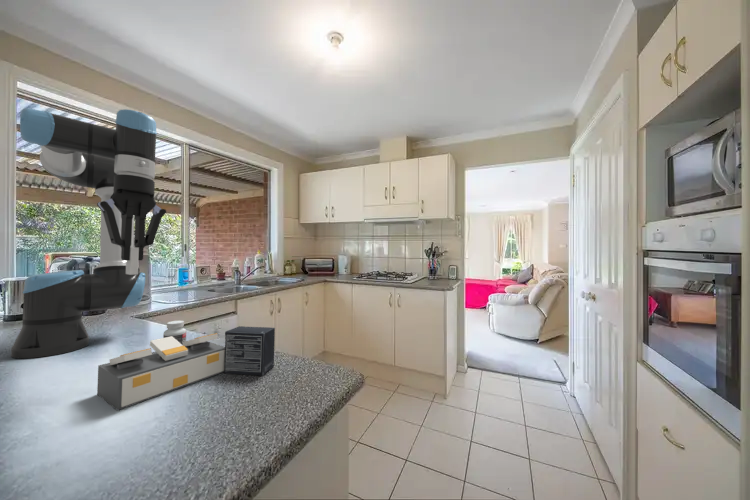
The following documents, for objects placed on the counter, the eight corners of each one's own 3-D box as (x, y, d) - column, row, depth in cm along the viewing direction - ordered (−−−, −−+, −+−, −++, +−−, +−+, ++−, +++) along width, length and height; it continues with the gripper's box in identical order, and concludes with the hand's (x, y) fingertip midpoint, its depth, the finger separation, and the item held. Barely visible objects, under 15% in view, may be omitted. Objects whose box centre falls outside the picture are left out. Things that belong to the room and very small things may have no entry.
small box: (275, 366, 74) (276, 326, 75) (263, 376, 68) (264, 333, 68) (238, 363, 76) (239, 324, 76) (222, 373, 69) (223, 331, 69)
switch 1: (109, 365, 58) (109, 358, 58) (136, 358, 62) (135, 352, 62) (124, 361, 54) (124, 354, 55) (151, 354, 58) (151, 348, 58)
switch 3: (183, 346, 70) (182, 341, 70) (201, 342, 74) (201, 337, 74) (200, 342, 66) (199, 337, 67) (218, 338, 70) (217, 332, 70)
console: (97, 394, 58) (98, 361, 58) (202, 362, 76) (203, 337, 76) (118, 411, 52) (119, 374, 52) (226, 371, 70) (227, 344, 70)
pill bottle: (187, 356, 80) (188, 322, 80) (164, 361, 76) (165, 325, 76) (183, 351, 84) (184, 319, 84) (161, 355, 80) (162, 321, 80)
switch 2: (149, 345, 64) (150, 340, 64) (171, 340, 68) (172, 335, 68) (165, 361, 60) (166, 355, 60) (187, 354, 64) (188, 349, 64)
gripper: (104, 167, 60) (100, 276, 60) (172, 181, 71) (170, 273, 71) (92, 172, 64) (89, 274, 64) (159, 185, 75) (156, 272, 75)
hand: (131, 274), depth 67 cm, fingers closed
